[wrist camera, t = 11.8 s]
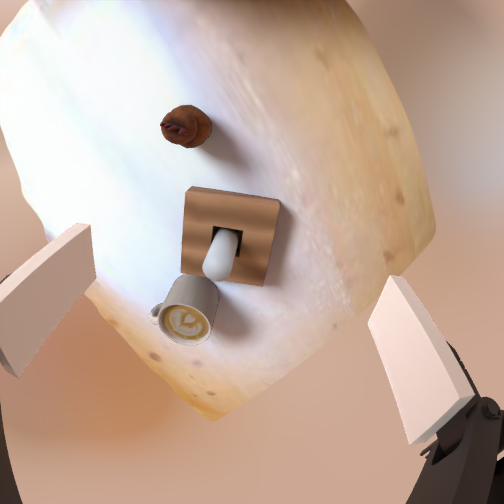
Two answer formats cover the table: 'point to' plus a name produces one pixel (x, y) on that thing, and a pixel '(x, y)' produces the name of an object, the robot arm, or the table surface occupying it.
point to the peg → (221, 254)
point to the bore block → (235, 217)
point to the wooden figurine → (186, 126)
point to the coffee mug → (187, 310)
